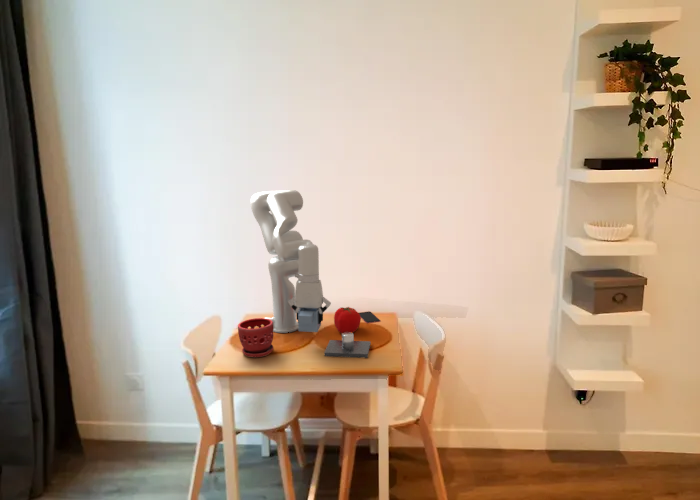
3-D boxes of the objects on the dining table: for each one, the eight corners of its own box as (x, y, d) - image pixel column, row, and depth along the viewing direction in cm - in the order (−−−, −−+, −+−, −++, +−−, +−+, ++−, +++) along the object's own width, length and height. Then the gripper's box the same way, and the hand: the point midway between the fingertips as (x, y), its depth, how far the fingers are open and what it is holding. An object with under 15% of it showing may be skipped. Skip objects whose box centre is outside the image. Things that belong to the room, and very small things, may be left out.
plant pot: (279, 346, 198) (278, 317, 196) (267, 361, 186) (265, 330, 183) (248, 344, 201) (246, 315, 198) (234, 358, 189) (231, 328, 186)
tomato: (329, 335, 209) (328, 311, 207) (340, 324, 221) (339, 301, 219) (355, 337, 206) (355, 313, 203) (365, 326, 217) (364, 303, 215)
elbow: (295, 335, 187) (295, 315, 185) (302, 323, 198) (302, 304, 196) (315, 337, 186) (314, 316, 184) (321, 324, 198) (320, 305, 196)
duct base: (324, 356, 189) (323, 339, 187) (330, 343, 200) (329, 327, 199) (367, 358, 187) (367, 341, 185) (370, 345, 198) (370, 329, 197)
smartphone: (370, 311, 236) (381, 321, 223) (370, 312, 236) (381, 322, 223) (356, 312, 234) (366, 323, 221) (356, 314, 234) (366, 324, 221)
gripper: (283, 279, 187) (285, 324, 191) (330, 281, 185) (330, 327, 189) (288, 273, 194) (290, 317, 199) (333, 275, 192) (334, 319, 196)
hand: (309, 321), depth 194 cm, fingers closed on elbow, 7 cm apart
